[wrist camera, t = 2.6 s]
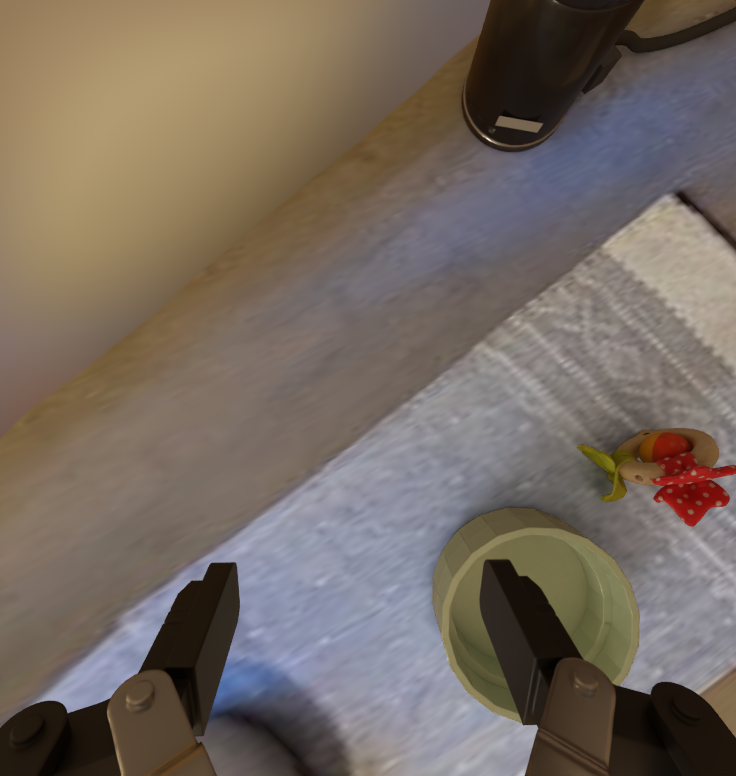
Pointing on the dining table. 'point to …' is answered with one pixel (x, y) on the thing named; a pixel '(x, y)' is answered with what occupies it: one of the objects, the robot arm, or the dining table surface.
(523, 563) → the bowl
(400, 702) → the dining table surface
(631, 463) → the bird rattle
